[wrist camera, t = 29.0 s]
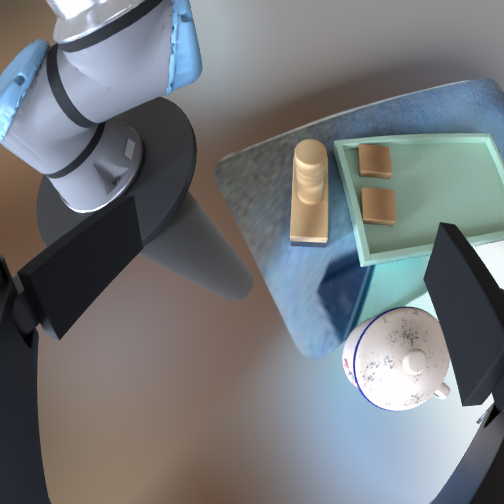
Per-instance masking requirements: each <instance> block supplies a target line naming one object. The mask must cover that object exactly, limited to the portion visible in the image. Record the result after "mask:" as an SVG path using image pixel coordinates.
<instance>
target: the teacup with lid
mask: <svg viewBox="0 0 504 504" xmlns="http://www.w3.org/2000/svg"><path fill="white" fill-rule="evenodd" d="M449 361H450V355H449V352H448V348H447V345H446V342H445V339H444V335H443V332H442V329H441V326H440V323H439V322H438V321H437V319H436V318H434V317H433V316H432V315H431V314H429V313H428V312H426V311H424V310H422V309H419V308H415V307H397V308H393V309H390V310H388V311H386V312H384V313H382V314H380V315H379V316H377V317H373V318H370V319H368V320H366V321H364V322H362V323H361V324H359V325H358V326H357V327H356V328H355V329H354V330H353V331H352V332H351V334H350V335H349V337H348V339H347V341H346V343H345V346H344V350H343V366H344V370H345V373H346V375H347V377H348V378H349V380H350V381H351V382H352V384H354V385H355V386H356V387H357V388H358V389H359V390H360V392H361V393H362V395H363V396H364V397H365V398H366V399H367V400H368V401H369V402H370V403H372V404H373V405H375V406H376V407H379V408H381V409H384V410H389V411H403V410H408V409H411V408H414V407H416V406H418V405H420V404H422V403H424V402H425V401H426V400H428V399H429V398H430V397H431V396H432V395H434V396H436V397H438V398H440V399H445V398H446V397H447V396H448V395H449V393H450V389H449V387H448V386H447V385H446V384H445V383H444V382H443V380H444V378H445V376H446V373H447V370H448V367H449Z"/></svg>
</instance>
